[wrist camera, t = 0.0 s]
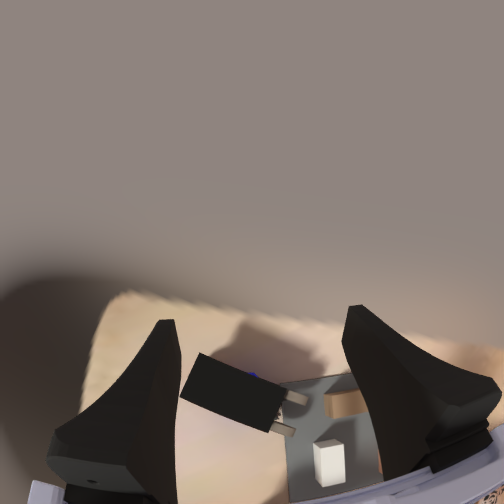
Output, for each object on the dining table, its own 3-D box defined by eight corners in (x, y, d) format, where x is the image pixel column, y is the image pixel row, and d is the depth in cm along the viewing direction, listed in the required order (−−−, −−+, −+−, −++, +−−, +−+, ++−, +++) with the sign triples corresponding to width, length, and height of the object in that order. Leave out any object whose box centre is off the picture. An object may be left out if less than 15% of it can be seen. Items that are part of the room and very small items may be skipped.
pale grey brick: (336, 474, 37) (345, 482, 33) (315, 478, 36) (322, 487, 33) (334, 438, 39) (343, 444, 35) (312, 442, 38) (320, 448, 35)
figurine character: (299, 389, 43) (200, 351, 43) (317, 394, 35) (198, 350, 35) (282, 431, 40) (181, 394, 40) (297, 444, 33) (176, 402, 33)
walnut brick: (362, 387, 42) (373, 387, 38) (363, 407, 41) (375, 409, 37) (323, 394, 41) (331, 395, 38) (325, 415, 40) (333, 418, 36)
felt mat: (411, 470, 37) (412, 471, 36) (289, 501, 35) (290, 502, 35) (405, 362, 44) (405, 362, 43) (279, 383, 42) (280, 383, 42)
